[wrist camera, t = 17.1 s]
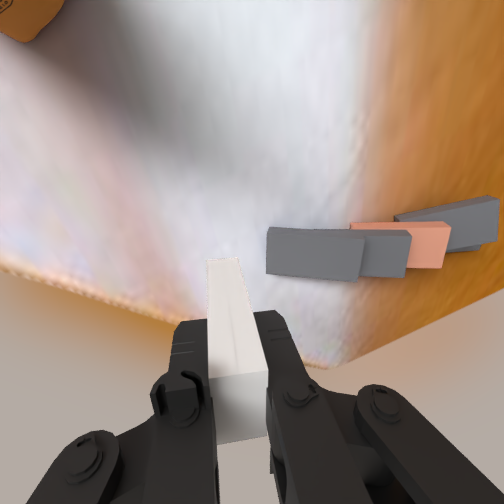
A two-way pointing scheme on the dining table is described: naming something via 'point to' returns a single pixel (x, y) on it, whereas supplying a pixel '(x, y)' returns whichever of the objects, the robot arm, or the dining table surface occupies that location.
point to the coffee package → (26, 17)
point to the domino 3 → (418, 240)
